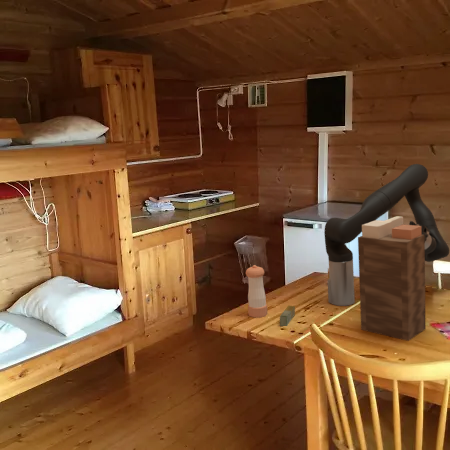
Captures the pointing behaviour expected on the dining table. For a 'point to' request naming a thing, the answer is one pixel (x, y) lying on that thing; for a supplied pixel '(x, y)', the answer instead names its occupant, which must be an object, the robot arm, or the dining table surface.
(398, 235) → the terracotta block
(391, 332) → the walnut stand
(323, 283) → the dining table surface
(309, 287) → the dining table surface
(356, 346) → the dining table surface
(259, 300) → the pepper shaker
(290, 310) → the medication box
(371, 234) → the beige long block
